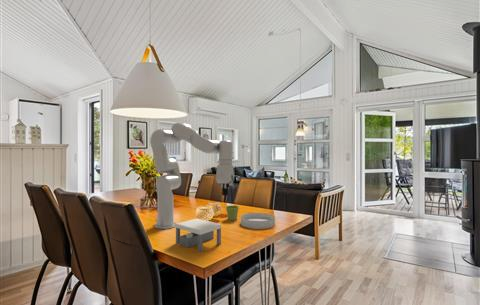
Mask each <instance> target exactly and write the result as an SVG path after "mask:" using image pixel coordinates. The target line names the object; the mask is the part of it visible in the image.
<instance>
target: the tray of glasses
mask: <svg viewBox="0 0 480 305" xmlns="http://www.w3.org/2000/svg"><path fill="white" fill-rule="evenodd" d="M214 231H215V230H214ZM214 231H211V232H207V233H204V234H203V243H204V242H207V241H210V240H212V239H214V237H215V235H214V234H215V232H214ZM178 246H181V247H184V248H191V247H195V246H198V234H196V233H192V232H188V233H186V234H183V235H180V236H179V244H178Z"/></svg>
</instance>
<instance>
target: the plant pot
mask: <svg viewBox="0 0 480 305" xmlns="http://www.w3.org/2000/svg"><path fill="white" fill-rule="evenodd" d="M239 209H240V206H239V205H226V206H225V210H226V213H227V220H229V221H236V220H237V219H238V214H239V212H238V211H239Z"/></svg>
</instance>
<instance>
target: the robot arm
mask: <svg viewBox="0 0 480 305" xmlns="http://www.w3.org/2000/svg"><path fill="white" fill-rule="evenodd" d="M181 141H185V142H186V143H188V144H191V146H192V147H193V148H195V149H197V150H199V151H200V152H203V153H206V154H218V161H217V162H218V164H217V167H216V175H215V181H216V182H217V184H218V185H220V187H221V196H223V197H225V196H226V197H227V196H228V195H229V188H230V186H234V182H235V172H234V171H235V170H234V166H233V142H232V141H231V140H215V139H214V140H213V139H208V138H206V137H204V136H202V135H200V133H199V131H198V130H196V129H194V128H192V126H191V125H190V124H187V123H184V122H176V123H173V125H171V129H166V128H165V129H164V128H162V129H161V128H159V129H156V130H154V131H152V133H151V136H150V142H149V143H150V147H151V151H152V154H153V161H154V166H155V170H156V172H157V173H159V174H164V175H161V176H158V178H157V179H156V181H155V187H156V188H155V189H156V192H157V218H155V222H156V223H155V224H154V228H155V229H157V230H159V229H160V230H167V229H173V228H176V224H177V222H176V223H175V222H174V211H175V210H174V203H175V202H174V194H173V190H176V189H178V188H179V187H181V185H182V176H181V171H180V166H179V163H178V161H177V160H176V159H175V158H173V157H169V155H168V150H167V148H166V146H165V144H176V143H178V142H181Z"/></svg>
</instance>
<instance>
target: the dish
mask: <svg viewBox="0 0 480 305" xmlns="http://www.w3.org/2000/svg"><path fill="white" fill-rule="evenodd" d="M275 219H276V218H275V216H274V215H273V214H270V213H264V212H248V213H244V214H242V215H241V216H240V226H242V227H245V228H248V229H255V230H261V229H270V228H273V227H275V226H276V222H275V221H276V220H275Z"/></svg>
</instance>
